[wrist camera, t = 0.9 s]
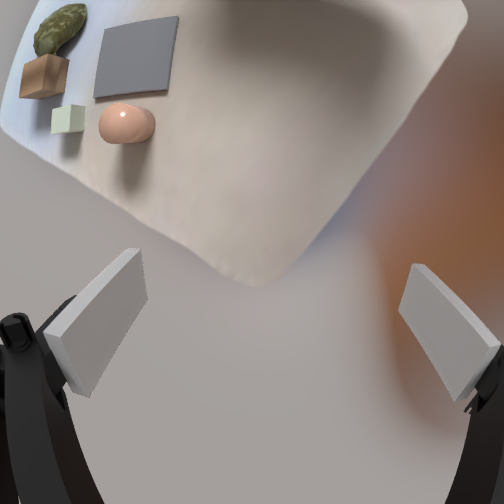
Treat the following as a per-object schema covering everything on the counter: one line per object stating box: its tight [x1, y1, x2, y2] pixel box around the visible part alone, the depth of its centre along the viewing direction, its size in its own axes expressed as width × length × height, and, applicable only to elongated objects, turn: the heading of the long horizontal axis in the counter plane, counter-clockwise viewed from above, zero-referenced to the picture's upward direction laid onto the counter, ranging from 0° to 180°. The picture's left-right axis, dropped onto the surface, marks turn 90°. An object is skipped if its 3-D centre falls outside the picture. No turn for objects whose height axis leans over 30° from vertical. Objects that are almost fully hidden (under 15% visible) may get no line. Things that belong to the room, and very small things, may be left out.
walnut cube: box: [19, 54, 69, 99], centre depth 26 cm, size 6×6×6 cm
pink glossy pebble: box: [99, 103, 155, 144], centre depth 30 cm, size 5×5×7 cm
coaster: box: [93, 16, 179, 98], centre depth 29 cm, size 12×12×1 cm
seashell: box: [33, 4, 87, 57], centre depth 24 cm, size 10×7×10 cm
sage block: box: [51, 105, 86, 134], centre depth 31 cm, size 4×4×4 cm
